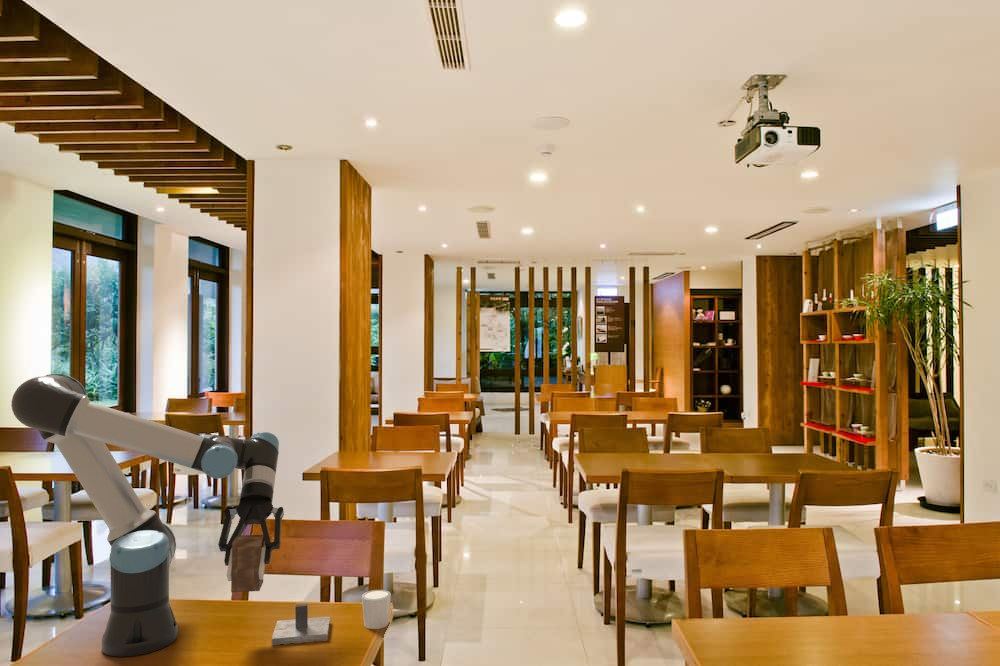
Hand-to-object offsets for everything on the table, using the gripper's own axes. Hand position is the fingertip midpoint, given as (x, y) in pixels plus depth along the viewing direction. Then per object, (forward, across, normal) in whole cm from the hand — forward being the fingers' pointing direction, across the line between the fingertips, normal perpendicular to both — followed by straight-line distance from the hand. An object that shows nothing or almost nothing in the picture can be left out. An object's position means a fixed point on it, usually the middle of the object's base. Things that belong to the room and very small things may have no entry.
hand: (245, 577), depth 153 cm
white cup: (+7, -29, -13) cm, 33 cm away
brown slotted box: (0, 0, -5) cm, 5 cm away
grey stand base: (+8, -12, -12) cm, 19 cm away
